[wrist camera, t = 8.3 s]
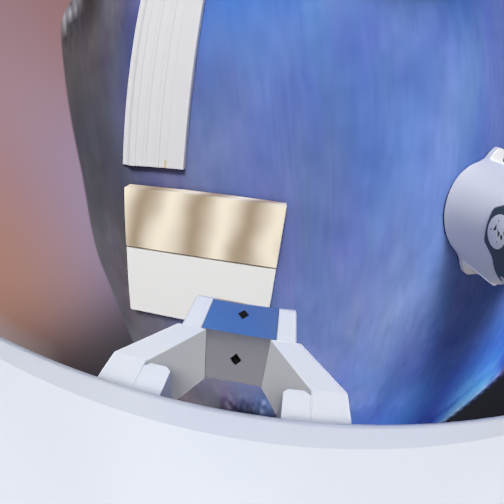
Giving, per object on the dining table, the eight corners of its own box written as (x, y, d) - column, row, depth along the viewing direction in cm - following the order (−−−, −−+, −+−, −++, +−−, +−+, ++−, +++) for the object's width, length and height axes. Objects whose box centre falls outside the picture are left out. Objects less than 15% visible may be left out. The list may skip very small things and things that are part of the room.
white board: (276, 264, 42) (275, 269, 41) (265, 325, 46) (264, 332, 45) (131, 242, 43) (126, 247, 41) (134, 303, 47) (130, 308, 45)
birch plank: (286, 203, 38) (286, 207, 37) (276, 262, 42) (276, 268, 40) (129, 184, 39) (124, 187, 38) (131, 240, 43) (126, 245, 41)
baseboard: (116, 162, 39) (187, 167, 39) (106, 166, 36) (180, 171, 36) (143, -42, 27) (216, -48, 27) (136, -50, 24) (211, -58, 24)
